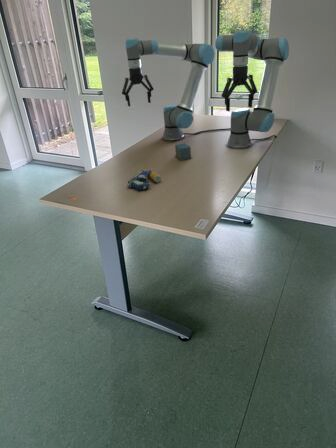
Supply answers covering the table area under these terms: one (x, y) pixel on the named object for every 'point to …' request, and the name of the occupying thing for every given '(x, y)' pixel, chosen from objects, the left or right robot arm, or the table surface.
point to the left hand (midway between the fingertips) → (139, 104)
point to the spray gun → (143, 179)
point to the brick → (183, 151)
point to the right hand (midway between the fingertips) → (239, 109)
